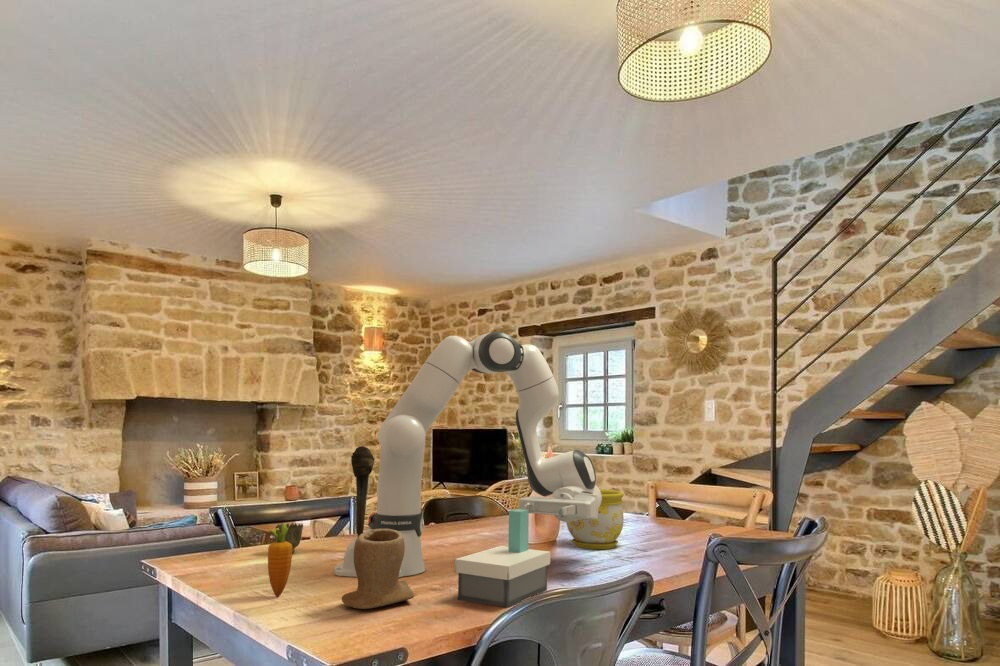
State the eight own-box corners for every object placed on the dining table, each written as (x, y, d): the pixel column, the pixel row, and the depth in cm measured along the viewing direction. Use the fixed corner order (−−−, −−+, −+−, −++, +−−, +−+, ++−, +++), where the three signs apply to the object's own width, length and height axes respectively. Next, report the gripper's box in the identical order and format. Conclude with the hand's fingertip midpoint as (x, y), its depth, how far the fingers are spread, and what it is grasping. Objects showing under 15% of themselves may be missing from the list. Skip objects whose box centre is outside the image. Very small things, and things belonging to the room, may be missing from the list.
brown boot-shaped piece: (363, 618, 128) (366, 537, 130) (334, 605, 137) (337, 529, 139) (428, 605, 138) (430, 530, 140) (397, 593, 147) (399, 523, 149)
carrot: (276, 601, 139) (280, 526, 141) (260, 597, 142) (264, 524, 144) (295, 596, 144) (298, 524, 146) (279, 592, 146) (283, 522, 148)
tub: (507, 607, 137) (507, 572, 137) (458, 599, 143) (458, 565, 144) (546, 589, 152) (546, 557, 153) (501, 582, 158) (501, 552, 159)
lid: (508, 580, 136) (509, 520, 138) (454, 572, 143) (455, 515, 145) (550, 563, 153) (550, 511, 154) (500, 557, 159) (501, 506, 161)
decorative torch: (374, 552, 193) (378, 446, 197) (351, 554, 190) (356, 446, 194) (366, 548, 199) (369, 445, 203) (343, 550, 195) (348, 446, 199)
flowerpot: (554, 546, 206) (555, 491, 208) (582, 538, 221) (582, 487, 223) (608, 553, 196) (607, 496, 198) (633, 545, 211) (633, 491, 213)
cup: (296, 556, 186) (298, 526, 187) (270, 556, 186) (272, 526, 187) (304, 551, 193) (306, 523, 194) (279, 551, 193) (280, 522, 194)
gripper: (532, 490, 183) (507, 494, 171) (603, 493, 173) (581, 499, 161) (532, 513, 182) (507, 520, 170) (603, 519, 172) (581, 526, 160)
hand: (543, 510), depth 165 cm, fingers open, 8 cm apart
